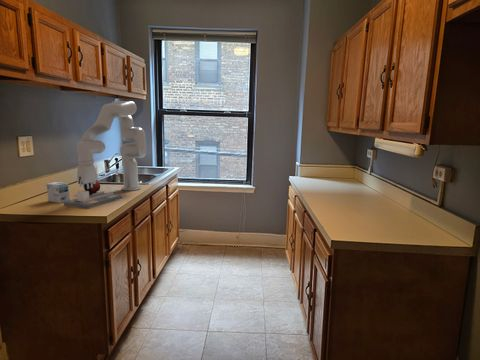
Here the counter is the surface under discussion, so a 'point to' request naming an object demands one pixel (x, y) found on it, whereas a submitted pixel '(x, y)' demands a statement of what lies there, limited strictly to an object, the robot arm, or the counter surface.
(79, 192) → the switch tab
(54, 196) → the light bulb box
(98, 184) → the fruit
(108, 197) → the switch board
